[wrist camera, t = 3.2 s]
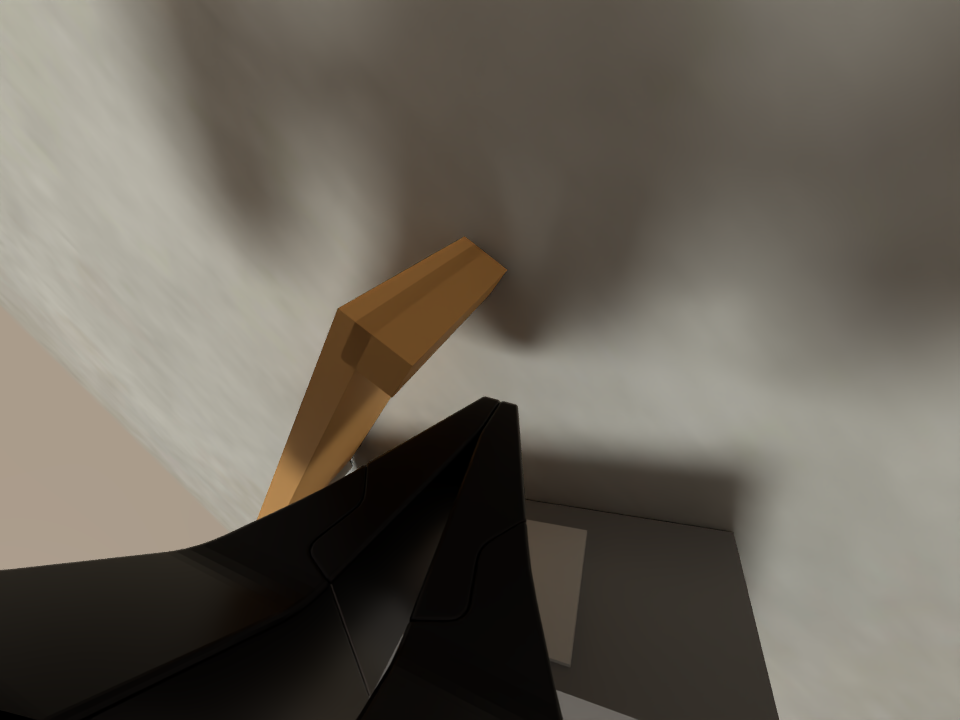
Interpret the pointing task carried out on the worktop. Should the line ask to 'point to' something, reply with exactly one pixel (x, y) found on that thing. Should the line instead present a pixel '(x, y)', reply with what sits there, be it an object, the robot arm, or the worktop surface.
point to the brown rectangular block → (376, 362)
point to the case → (644, 618)
